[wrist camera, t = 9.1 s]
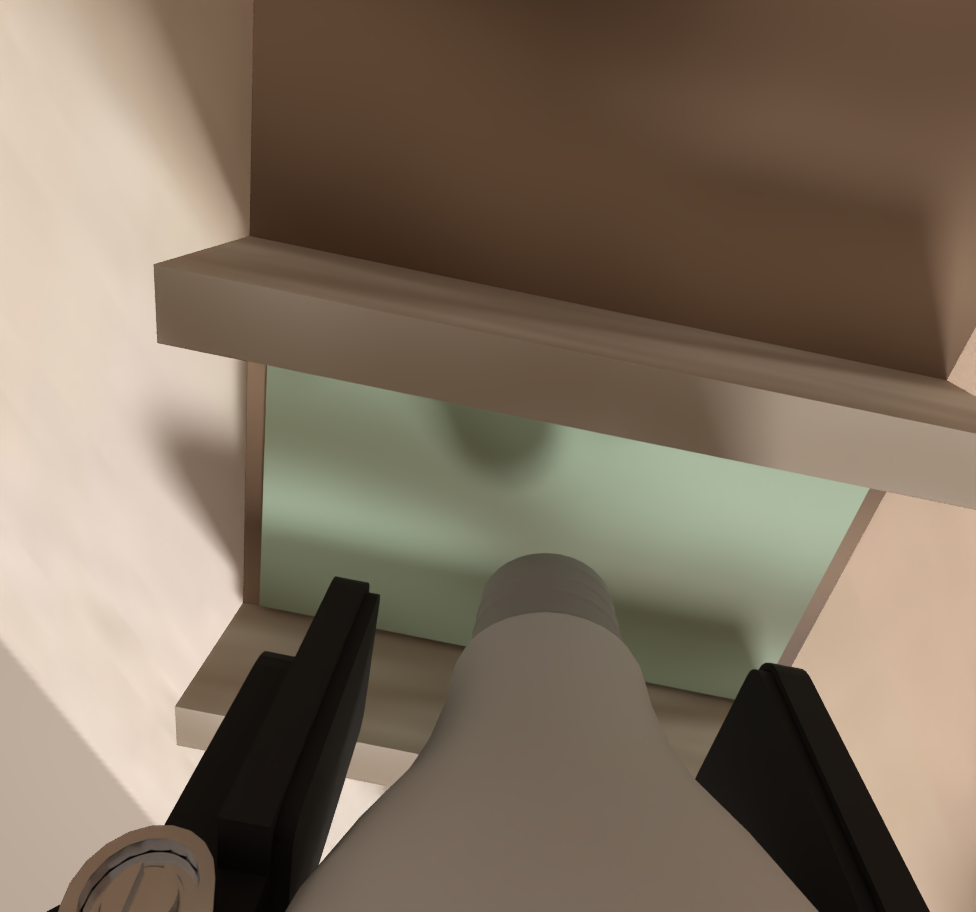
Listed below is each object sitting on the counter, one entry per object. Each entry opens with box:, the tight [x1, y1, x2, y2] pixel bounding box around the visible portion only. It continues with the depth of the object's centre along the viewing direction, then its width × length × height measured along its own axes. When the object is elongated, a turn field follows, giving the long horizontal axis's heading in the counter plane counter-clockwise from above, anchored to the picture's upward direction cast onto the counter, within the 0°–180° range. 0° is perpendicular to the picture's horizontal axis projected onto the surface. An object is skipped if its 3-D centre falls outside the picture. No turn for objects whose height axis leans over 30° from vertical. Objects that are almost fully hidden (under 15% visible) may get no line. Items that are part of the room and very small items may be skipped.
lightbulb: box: [285, 553, 818, 912], centre depth 8 cm, size 6×6×11 cm
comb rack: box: [154, 0, 976, 787], centre depth 12 cm, size 21×14×5 cm, turn 169°
